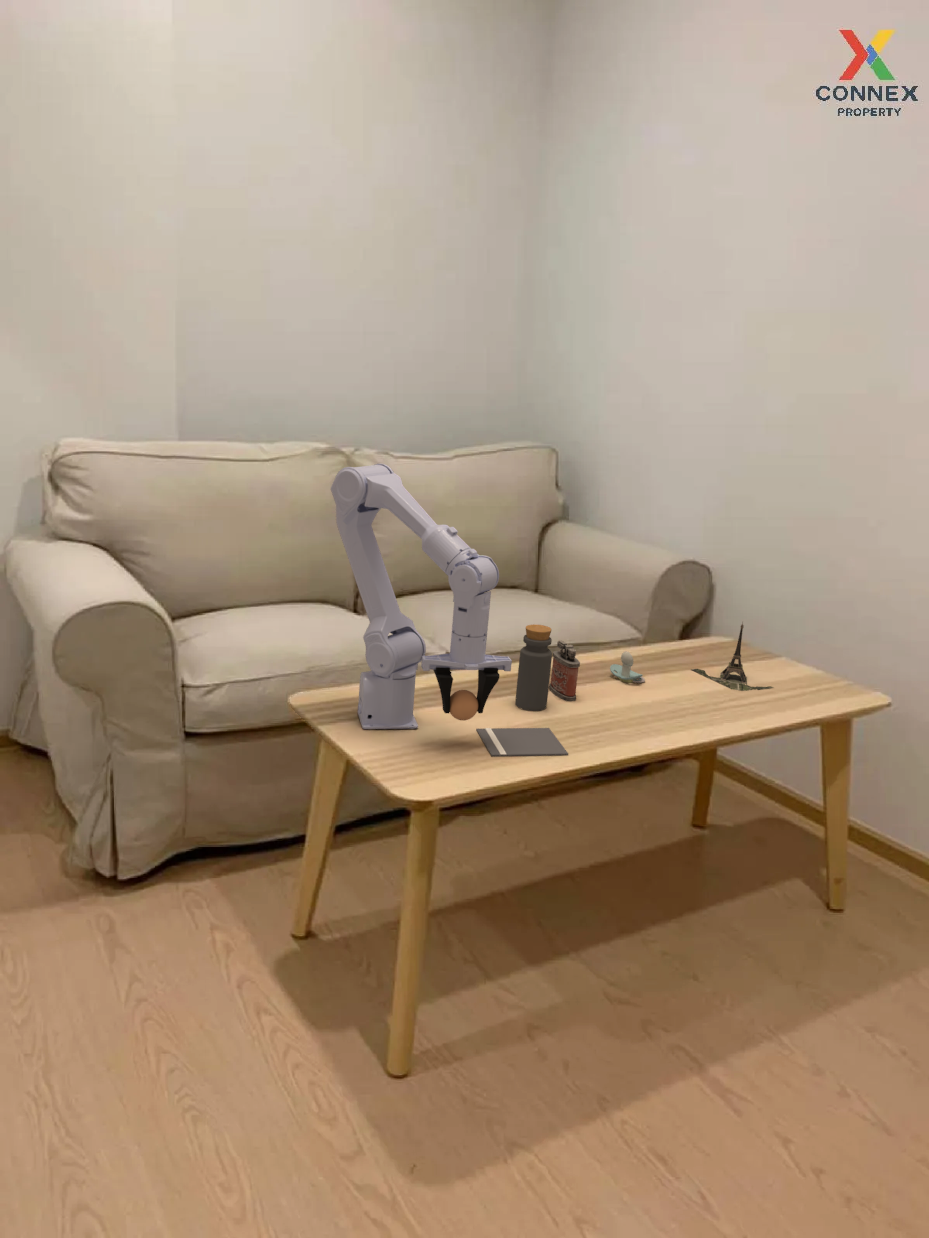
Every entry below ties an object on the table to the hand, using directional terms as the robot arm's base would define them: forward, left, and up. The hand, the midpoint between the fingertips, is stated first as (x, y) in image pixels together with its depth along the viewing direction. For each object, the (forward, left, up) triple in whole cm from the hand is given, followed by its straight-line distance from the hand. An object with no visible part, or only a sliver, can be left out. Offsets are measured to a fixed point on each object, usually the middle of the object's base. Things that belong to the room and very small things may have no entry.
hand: (462, 711), depth 167 cm
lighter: (+25, +23, -6) cm, 34 cm away
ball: (0, 0, -1) cm, 1 cm away
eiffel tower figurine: (+65, +32, -6) cm, 73 cm away
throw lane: (+11, 0, -6) cm, 12 cm away
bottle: (+17, +17, -6) cm, 25 cm away
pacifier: (+42, +31, -6) cm, 53 cm away
